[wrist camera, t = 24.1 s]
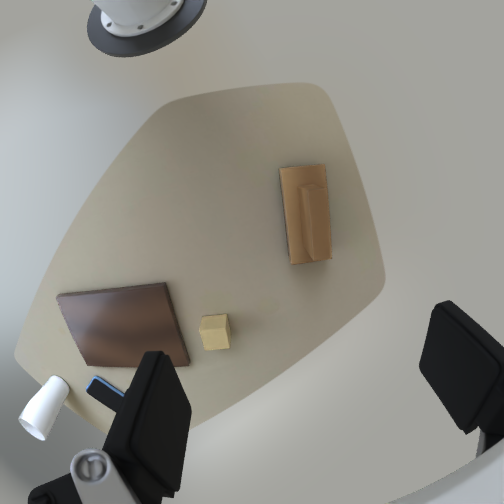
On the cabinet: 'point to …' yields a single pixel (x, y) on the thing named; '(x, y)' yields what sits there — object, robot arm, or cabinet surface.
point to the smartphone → (105, 393)
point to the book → (123, 325)
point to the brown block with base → (306, 213)
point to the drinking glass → (44, 408)
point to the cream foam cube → (215, 332)
